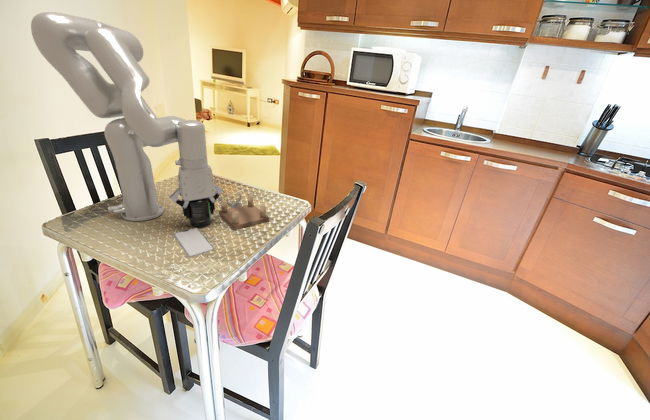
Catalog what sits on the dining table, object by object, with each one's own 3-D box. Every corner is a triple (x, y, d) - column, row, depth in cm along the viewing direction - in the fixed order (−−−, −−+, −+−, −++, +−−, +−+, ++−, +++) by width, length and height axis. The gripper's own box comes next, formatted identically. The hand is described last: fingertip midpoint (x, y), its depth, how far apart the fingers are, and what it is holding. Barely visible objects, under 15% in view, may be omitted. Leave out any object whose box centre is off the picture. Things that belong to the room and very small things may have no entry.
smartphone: (188, 257, 80) (172, 233, 90) (189, 259, 81) (172, 235, 91) (215, 249, 85) (197, 227, 95) (215, 251, 85) (197, 229, 95)
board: (233, 230, 96) (232, 215, 93) (218, 214, 105) (217, 200, 102) (269, 221, 103) (269, 207, 101) (252, 207, 112) (252, 194, 110)
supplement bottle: (215, 221, 100) (213, 189, 95) (201, 230, 94) (197, 196, 89) (200, 216, 102) (196, 184, 97) (184, 224, 96) (180, 191, 91)
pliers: (236, 190, 125) (259, 207, 112) (236, 192, 125) (259, 209, 112) (213, 194, 119) (235, 213, 106) (214, 196, 119) (235, 215, 106)
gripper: (165, 169, 81) (174, 225, 89) (227, 163, 92) (229, 213, 99) (159, 162, 86) (168, 216, 94) (218, 156, 97) (221, 205, 104)
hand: (199, 214), depth 96 cm, fingers closed on supplement bottle, 6 cm apart
